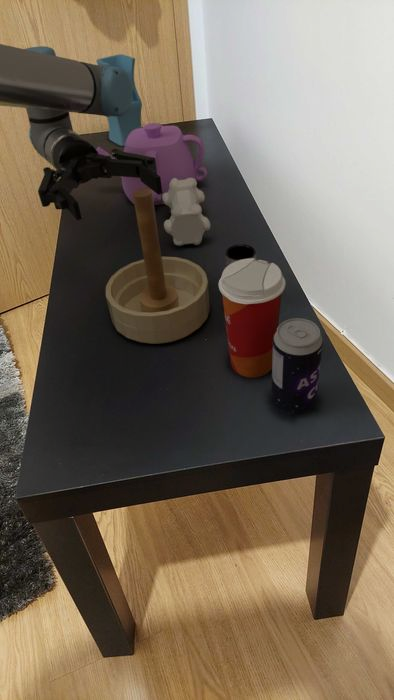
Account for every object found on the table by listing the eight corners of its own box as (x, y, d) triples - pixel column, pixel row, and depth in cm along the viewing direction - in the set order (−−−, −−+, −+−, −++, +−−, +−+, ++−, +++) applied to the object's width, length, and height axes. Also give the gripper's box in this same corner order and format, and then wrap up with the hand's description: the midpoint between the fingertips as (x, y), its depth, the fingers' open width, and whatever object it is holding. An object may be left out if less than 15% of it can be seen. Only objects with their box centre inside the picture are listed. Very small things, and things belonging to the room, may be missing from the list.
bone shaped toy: (164, 214, 107) (159, 177, 102) (205, 210, 108) (202, 172, 102) (166, 251, 96) (161, 211, 91) (212, 246, 96) (209, 206, 91)
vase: (121, 146, 139) (107, 64, 125) (108, 139, 144) (93, 59, 130) (146, 139, 142) (135, 58, 128) (133, 131, 147) (121, 53, 133)
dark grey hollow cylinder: (223, 312, 81) (219, 256, 74) (234, 296, 84) (233, 241, 77) (249, 319, 79) (248, 262, 72) (260, 302, 82) (260, 247, 75)
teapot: (218, 188, 115) (215, 122, 105) (142, 221, 106) (130, 152, 96) (169, 165, 126) (162, 104, 117) (96, 193, 118) (82, 129, 108)
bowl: (132, 360, 74) (125, 328, 70) (100, 304, 85) (93, 274, 81) (226, 325, 79) (225, 294, 75) (185, 276, 89) (182, 247, 85)
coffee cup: (239, 337, 76) (237, 250, 66) (291, 353, 73) (296, 264, 63) (212, 372, 71) (204, 284, 61) (265, 392, 68) (267, 301, 58)
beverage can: (296, 426, 63) (302, 355, 55) (262, 402, 66) (263, 332, 58) (324, 401, 66) (334, 330, 58) (290, 379, 69) (295, 309, 61)
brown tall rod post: (150, 327, 79) (128, 206, 65) (137, 306, 83) (114, 189, 69) (185, 314, 80) (171, 194, 67) (170, 295, 84) (154, 178, 71)
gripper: (138, 159, 98) (192, 198, 84) (11, 196, 90) (47, 245, 76) (131, 118, 93) (188, 152, 79) (-4, 153, 85) (32, 198, 71)
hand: (119, 198), depth 77 cm, fingers open, 13 cm apart
